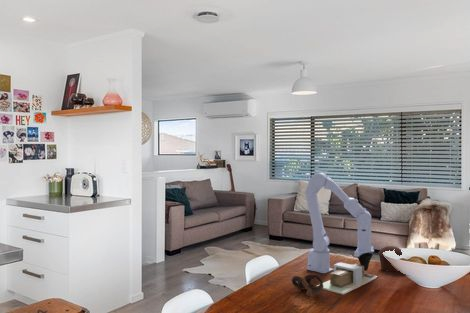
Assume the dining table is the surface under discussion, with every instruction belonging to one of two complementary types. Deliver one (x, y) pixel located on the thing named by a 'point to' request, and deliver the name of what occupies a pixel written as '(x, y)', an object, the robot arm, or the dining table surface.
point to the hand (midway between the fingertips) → (364, 270)
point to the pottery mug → (308, 283)
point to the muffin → (384, 262)
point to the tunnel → (356, 283)
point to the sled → (343, 276)
